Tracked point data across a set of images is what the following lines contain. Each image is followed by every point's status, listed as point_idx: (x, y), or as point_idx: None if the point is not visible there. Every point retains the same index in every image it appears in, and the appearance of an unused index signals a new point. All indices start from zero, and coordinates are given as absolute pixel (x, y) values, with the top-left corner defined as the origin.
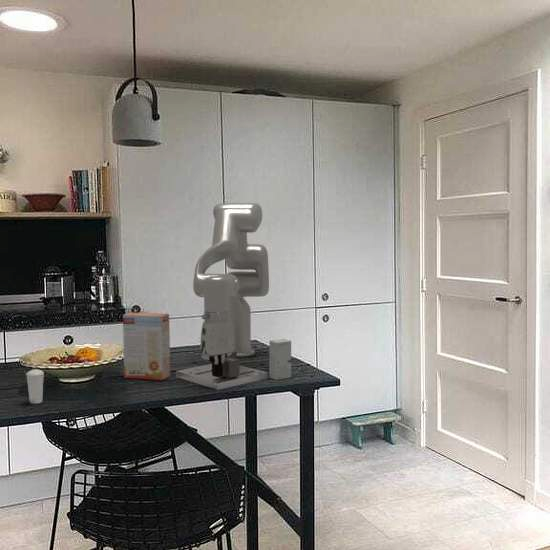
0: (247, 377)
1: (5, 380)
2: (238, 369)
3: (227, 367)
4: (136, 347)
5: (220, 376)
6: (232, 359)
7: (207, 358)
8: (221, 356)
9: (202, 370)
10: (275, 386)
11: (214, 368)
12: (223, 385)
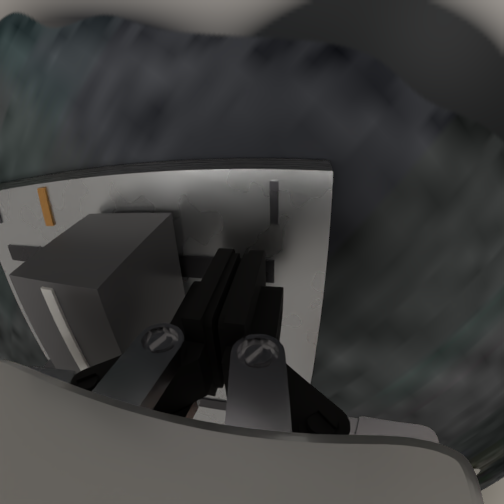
0: (61, 179)
1: (482, 489)
2: (67, 234)
3: (138, 279)
4: None
5: (234, 255)
6: (51, 328)
7: (385, 434)
8: (151, 398)
9: (204, 420)
10: (29, 31)
11: (277, 324)
12: (270, 163)
